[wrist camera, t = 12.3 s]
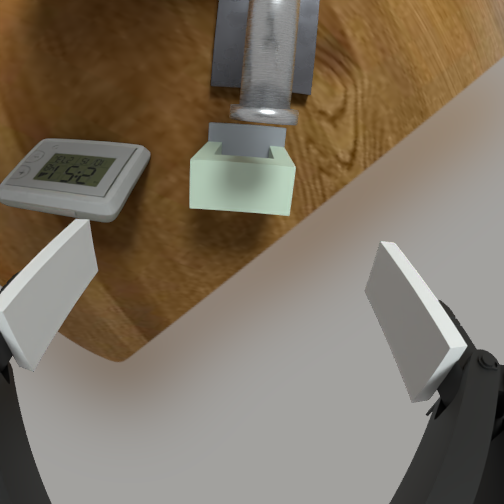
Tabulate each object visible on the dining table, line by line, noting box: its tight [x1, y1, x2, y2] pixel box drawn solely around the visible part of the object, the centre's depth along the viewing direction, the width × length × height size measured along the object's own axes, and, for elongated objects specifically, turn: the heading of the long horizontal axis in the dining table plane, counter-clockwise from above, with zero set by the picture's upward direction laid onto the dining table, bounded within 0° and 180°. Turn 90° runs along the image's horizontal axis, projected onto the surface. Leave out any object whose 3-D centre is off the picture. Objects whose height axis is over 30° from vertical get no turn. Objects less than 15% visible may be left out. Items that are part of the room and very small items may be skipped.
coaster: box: [208, 122, 286, 158], centre depth 32 cm, size 8×8×1 cm
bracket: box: [190, 142, 296, 216], centre depth 27 cm, size 8×4×10 cm, turn 85°
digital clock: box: [0, 139, 151, 222], centre depth 27 cm, size 16×9×11 cm, turn 67°
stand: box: [211, 0, 319, 125], centre depth 18 cm, size 10×14×18 cm
